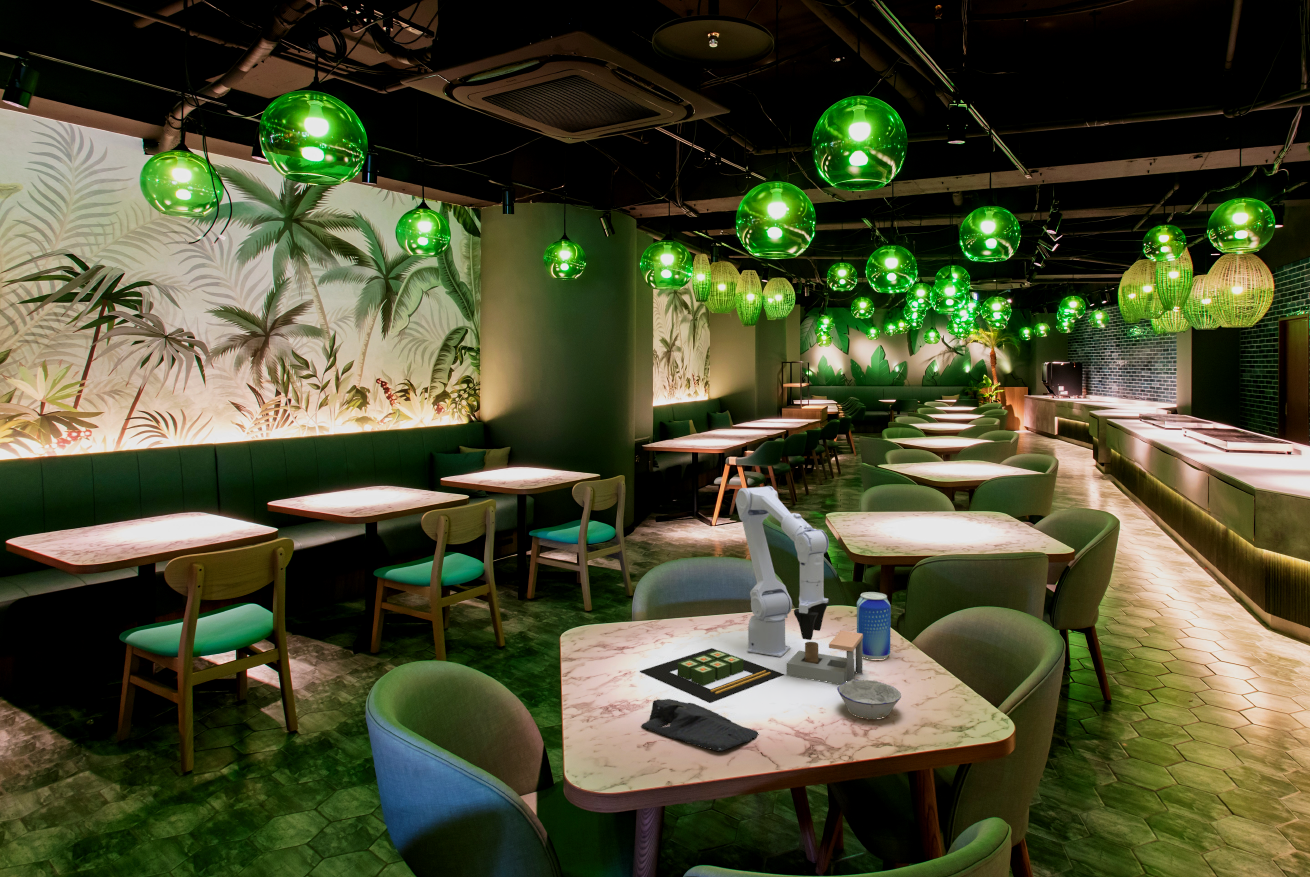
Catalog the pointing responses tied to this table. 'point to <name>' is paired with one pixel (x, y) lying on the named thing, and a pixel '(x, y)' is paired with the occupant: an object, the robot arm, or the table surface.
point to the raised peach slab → (849, 650)
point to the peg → (811, 652)
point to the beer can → (874, 624)
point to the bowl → (868, 698)
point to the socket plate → (818, 668)
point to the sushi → (710, 674)
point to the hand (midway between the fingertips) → (811, 634)
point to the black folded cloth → (696, 725)
